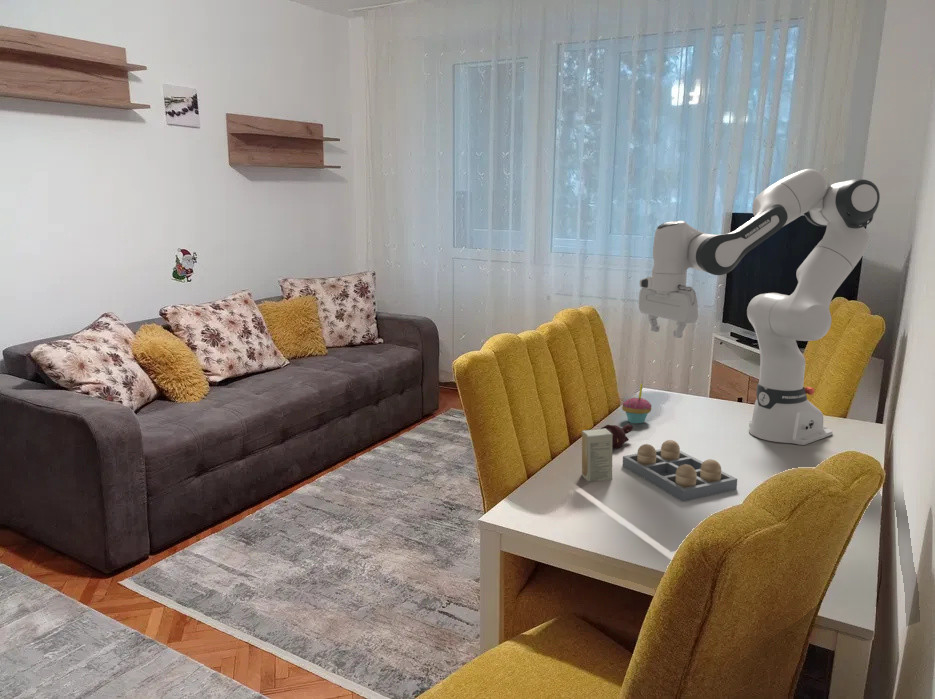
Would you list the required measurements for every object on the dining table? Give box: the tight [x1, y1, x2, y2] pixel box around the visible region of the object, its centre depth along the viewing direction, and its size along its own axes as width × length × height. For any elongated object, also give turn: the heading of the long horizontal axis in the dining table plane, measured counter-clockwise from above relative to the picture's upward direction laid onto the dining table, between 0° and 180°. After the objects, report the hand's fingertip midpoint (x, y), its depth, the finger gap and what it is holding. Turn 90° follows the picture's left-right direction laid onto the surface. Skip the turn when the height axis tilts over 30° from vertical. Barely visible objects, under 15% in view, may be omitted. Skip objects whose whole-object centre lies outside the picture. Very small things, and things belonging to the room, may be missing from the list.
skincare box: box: [581, 428, 613, 482], centre depth 157 cm, size 6×4×12 cm
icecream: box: [600, 424, 634, 450], centre depth 178 cm, size 7×7×15 cm
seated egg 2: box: [675, 464, 697, 488], centre depth 149 cm, size 4×4×6 cm
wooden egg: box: [660, 439, 681, 461], centre depth 165 cm, size 4×4×6 cm
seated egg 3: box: [700, 458, 722, 483], centre depth 152 cm, size 4×4×6 cm
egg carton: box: [622, 448, 738, 502], centre depth 157 cm, size 15×22×4 cm
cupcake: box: [621, 380, 652, 424], centre depth 199 cm, size 9×8×12 cm
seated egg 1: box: [636, 443, 657, 465], centre depth 162 cm, size 4×4×6 cm
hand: (666, 334), depth 181 cm, fingers open, 8 cm apart
